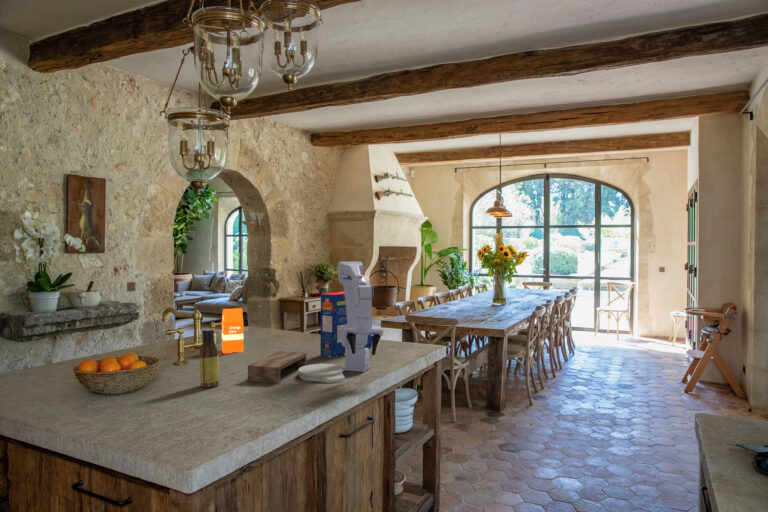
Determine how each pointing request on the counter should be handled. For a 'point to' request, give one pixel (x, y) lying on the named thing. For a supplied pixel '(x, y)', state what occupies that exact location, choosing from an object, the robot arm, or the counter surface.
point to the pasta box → (334, 324)
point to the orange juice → (232, 330)
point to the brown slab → (274, 366)
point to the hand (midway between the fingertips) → (363, 354)
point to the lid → (322, 373)
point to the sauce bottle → (209, 360)
